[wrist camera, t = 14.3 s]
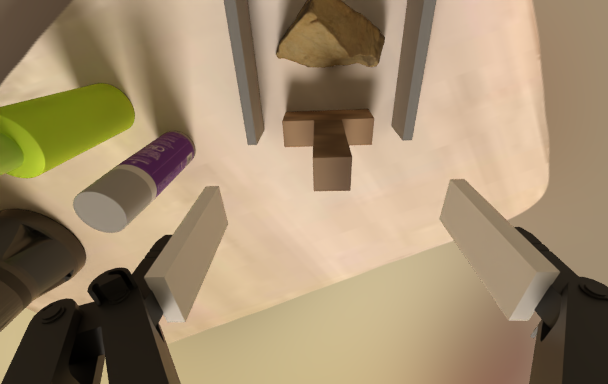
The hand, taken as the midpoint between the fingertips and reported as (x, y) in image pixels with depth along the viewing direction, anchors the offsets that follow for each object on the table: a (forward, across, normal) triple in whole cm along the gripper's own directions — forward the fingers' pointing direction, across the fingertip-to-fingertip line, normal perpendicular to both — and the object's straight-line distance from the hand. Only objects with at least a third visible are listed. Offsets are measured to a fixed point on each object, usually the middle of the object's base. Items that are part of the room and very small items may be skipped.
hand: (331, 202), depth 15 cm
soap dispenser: (+20, -26, +2) cm, 33 cm away
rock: (+20, +1, +7) cm, 21 cm away
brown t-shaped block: (+20, +1, -1) cm, 20 cm away
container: (+20, -19, -4) cm, 28 cm away
